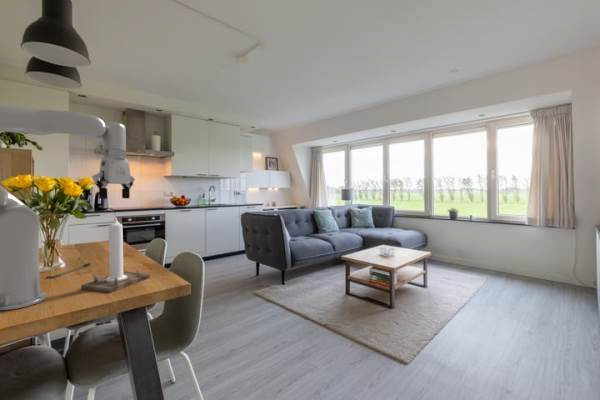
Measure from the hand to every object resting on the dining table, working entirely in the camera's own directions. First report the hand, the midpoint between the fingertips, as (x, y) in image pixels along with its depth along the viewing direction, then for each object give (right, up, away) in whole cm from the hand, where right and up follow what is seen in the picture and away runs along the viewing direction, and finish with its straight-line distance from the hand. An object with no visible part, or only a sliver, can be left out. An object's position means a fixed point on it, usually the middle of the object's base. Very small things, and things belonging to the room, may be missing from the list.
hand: (115, 198), depth 108 cm
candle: (0, -32, +1) cm, 32 cm away
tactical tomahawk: (-30, -34, +17) cm, 48 cm away
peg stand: (0, -34, +1) cm, 34 cm away
